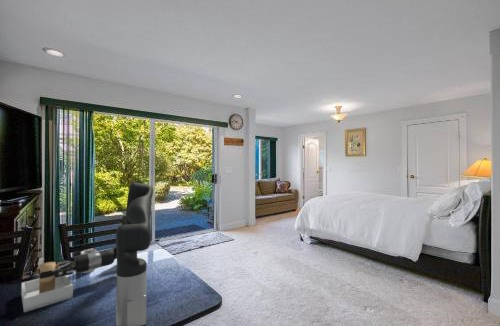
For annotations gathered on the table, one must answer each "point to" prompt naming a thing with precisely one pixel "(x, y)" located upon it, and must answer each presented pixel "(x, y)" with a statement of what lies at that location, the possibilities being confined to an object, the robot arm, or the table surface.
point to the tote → (45, 293)
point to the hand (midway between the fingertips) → (39, 273)
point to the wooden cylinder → (47, 278)
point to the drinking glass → (87, 253)
